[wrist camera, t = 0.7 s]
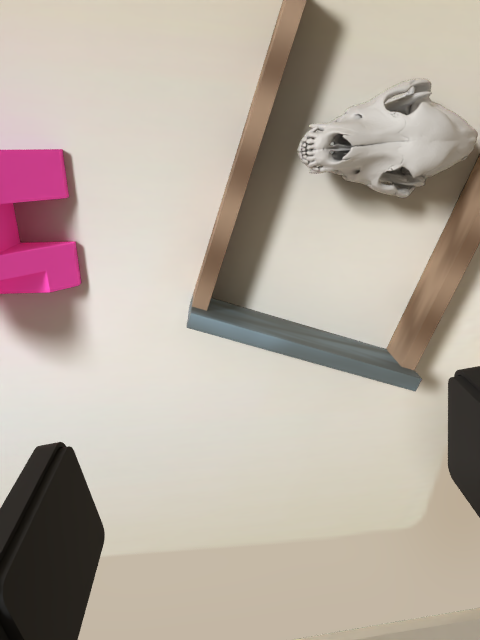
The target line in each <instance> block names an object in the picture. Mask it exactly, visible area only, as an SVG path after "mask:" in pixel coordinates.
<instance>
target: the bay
mask: <svg viewBox="0 0 480 640" xmlns="http://www.w3.org/2000/svg"><path fill="white" fill-rule="evenodd" d="M306 1H307V0H283V2H282V6H281V9H280V12H279V16H278V19H277V22H276V25H275V29H274V32H273V35H272V38H271V42H270V45H269V48H268V51H267V55H266V58H265V61H264V64H263V68H262V71H261V74H260V78H259V81H258V84H257V87H256V91H255V94H254V97H253V100H252V104H251V107H250V110H249V113H248V117H247V120H246V123H245V127H244V130H243V133H242V136H241V140H240V143H239V146H238V149H237V153H236V156H235V159H234V162H233V166H232V169H231V172H230V175H229V179H228V182H227V185H226V189H225V192H224V195H223V198H222V202H221V205H220V208H219V211H218V215H217V218H216V221H215V224H214V228H213V231H212V234H211V238H210V241H209V244H208V247H207V251H206V254H205V257H204V260H203V264H202V267H201V270H200V273H199V277H198V280H197V283H196V286H195V290H194V293H193V296H192V300H191V303H190V307H189V314H188V321H187V328H190V329H194V330H197V331H201V332H204V333H208V334H212V335H215V336H219V337H222V338H226V339H230V340H233V341H237V342H240V343H244V344H247V345H251V346H255V347H258V348H262V349H265V350H269V351H273V352H276V353H280V354H283V355H287V356H290V357H294V358H298V359H301V360H305V361H308V362H312V363H316V364H319V365H323V366H326V367H330V368H333V369H337V370H341V371H344V372H348V373H351V374H355V375H359V376H362V377H366V378H369V379H373V380H376V381H380V382H384V383H387V384H391V385H394V386H398V387H402V388H405V389H409V390H412V391H416V390H417V388H418V386H419V384H420V382H421V380H422V378H421V377H420V376H419V375H418V374H417V373H416V372H415V371H414V370H415V368H416V366H417V364H418V362H419V360H420V358H421V356H422V354H423V352H424V350H425V348H426V346H427V344H428V343H429V341H430V339H431V337H432V335H433V333H434V331H435V329H436V327H437V325H438V323H439V321H440V319H441V317H442V315H443V313H444V311H445V309H446V307H447V305H448V303H449V302H450V300H451V298H452V296H453V294H454V292H455V290H456V288H457V286H458V284H459V282H460V280H461V278H462V276H463V274H464V272H465V270H466V268H467V266H468V264H469V263H470V261H471V259H472V257H473V255H474V253H475V251H476V249H477V247H478V245H479V243H480V155H479V157H478V159H477V161H476V164H475V166H474V168H473V170H472V172H471V174H470V176H469V178H468V180H467V182H466V184H465V186H464V189H463V191H462V193H461V195H460V197H459V199H458V201H457V203H456V205H455V207H454V209H453V211H452V214H451V216H450V218H449V220H448V222H447V224H446V226H445V228H444V230H443V232H442V234H441V236H440V239H439V241H438V243H437V245H436V247H435V249H434V251H433V253H432V255H431V257H430V259H429V261H428V264H427V266H426V268H425V270H424V272H423V274H422V276H421V278H420V280H419V282H418V284H417V286H416V288H415V291H414V293H413V295H412V297H411V299H410V301H409V303H408V305H407V307H406V309H405V311H404V313H403V316H402V318H401V320H400V322H399V324H398V326H397V328H396V330H395V332H394V334H393V336H392V338H391V341H390V343H389V345H388V347H387V349H384V348H380V347H377V346H373V345H370V344H366V343H363V342H360V341H356V340H353V339H349V338H346V337H343V336H339V335H336V334H332V333H329V332H326V331H322V330H319V329H315V328H312V327H308V326H305V325H302V324H298V323H295V322H291V321H288V320H285V319H281V318H278V317H274V316H271V315H268V314H264V313H261V312H257V311H254V310H250V309H247V308H244V307H240V306H237V305H233V304H230V303H227V302H223V301H220V300H216V299H213V298H211V296H212V293H213V290H214V287H215V284H216V281H217V277H218V274H219V271H220V268H221V265H222V262H223V259H224V256H225V253H226V249H227V246H228V243H229V240H230V237H231V234H232V231H233V228H234V225H235V221H236V218H237V215H238V212H239V209H240V206H241V203H242V200H243V197H244V193H245V190H246V187H247V184H248V181H249V178H250V175H251V172H252V169H253V165H254V162H255V159H256V156H257V153H258V150H259V147H260V144H261V141H262V137H263V134H264V131H265V128H266V125H267V122H268V119H269V116H270V113H271V109H272V106H273V103H274V100H275V97H276V94H277V91H278V88H279V85H280V81H281V78H282V75H283V72H284V69H285V66H286V63H287V60H288V57H289V53H290V50H291V47H292V44H293V41H294V38H295V35H296V32H297V29H298V25H299V22H300V19H301V16H302V13H303V10H304V7H305V4H306Z"/></svg>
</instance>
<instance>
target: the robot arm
mask: <svg viewBox="0 0 480 640" xmlns="http://www.w3.org/2000/svg"><path fill="white" fill-rule="evenodd" d="M448 468H449V472H450V475H451V477H452V479H453V480H454V482H455V484H456V485H457V486H458V488H459V489H460V491H461V492H462V493H463V495H464V496H465V498H466V499H467V501H468V502H469V503H470V505H471V506H472V508H473V509H474V510H475V512H476V513H477V515H478V516H479V517H480V366H478V367H472V368H467V369H461V370H457V371H456V372H455V375H454V377H451V378H450V379H449V382H448ZM103 544H104V528H103V524H102V522H101V519H100V517H99V514H98V512H97V509H96V506H95V504H94V501H93V499H92V496H91V494H90V491H89V488H88V486H87V483H86V481H85V478H84V475H83V473H82V470H81V468H80V465H79V463H78V460H77V457H76V455H75V452H74V450H73V448H72V447H66V446H65V444H64V443H62V442H58V443H53V444H47V445H42V446H38V447H36V449H35V450H34V451H33V453H32V455H31V457H30V458H29V460H28V462H27V464H26V465H25V467H24V469H23V470H22V472H21V474H20V476H19V477H18V479H17V481H16V483H15V484H14V486H13V488H12V489H11V491H10V493H9V495H8V496H7V498H6V500H5V501H4V503H3V505H2V507H1V508H0V640H77V639H78V636H79V632H80V628H81V624H82V621H83V617H84V614H85V610H86V606H87V603H88V599H89V595H90V592H91V588H92V584H93V581H94V577H95V573H96V570H97V566H98V562H99V559H100V555H101V551H102V548H103ZM294 640H480V608H476V609H469V610H463V611H458V612H452V613H446V614H440V615H434V616H428V617H422V618H416V619H410V620H404V621H398V622H393V623H386V624H380V625H375V626H369V627H363V628H357V629H352V630H345V631H340V632H334V633H329V634H323V635H317V636H311V637H306V638H300V639H294Z"/></svg>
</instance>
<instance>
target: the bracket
mask: <svg viewBox="0 0 480 640" xmlns="http://www.w3.org/2000/svg"><path fill="white" fill-rule="evenodd" d="M68 197H69V193H68V186H67V179H66V172H65V165H64V158H63V151H62V149H52V150H0V294H9V293H46V292H54V291H58V290H62V289H66V288H70V287H75V286H79V285H80V284H81V277H80V270H79V263H78V256H77V249H76V242H29V243H20V238H19V232H18V227H17V222H16V216H15V211H14V206H13V203H17V202H28V201H39V200H50V199H62V198H68Z"/></svg>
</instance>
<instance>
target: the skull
mask: <svg viewBox="0 0 480 640" xmlns="http://www.w3.org/2000/svg"><path fill="white" fill-rule="evenodd" d="M408 90H409V91H408ZM407 91H408V92H407ZM405 92H407V93H405ZM402 93H405V94H404V95H402V96H400V97H398V98H391V97H393V96H395V95H398V94H402ZM430 94H432V93H431V82H430V81H429V80H427V79H422V78H421V79H412V80H407V81H404V82H401V83H399V84H397V85H395V86H393V87H391V88H389V89H387V90H385V91H383V92H382V93H380V94H379V95H377V96H376V97H375V98H373V99H371V100H370V101H367V102H365V103H362V104H358V105H356V106H352V107H349V108H347V109H346V111H345V114H343V115H341V116H339V117H337V118H336V119H334V120H333V121H331V122H329V123H319V124H311V125H309V127H310V128H312V129H311V130H309V131H308V132H307V133H306V134H305V135H304V137H303V138H302V140H301V141H300V144H299V147H298V149H297V151H299V152H298V155H299V157H300V159H301V161H302V162H303V163H304V164H305V165H306V166H307V167H309V168H311V169H312V170H310V171H309V173H316V174H317V173H324V172H333V173H335V174H338V175H342V177H343V178H344V179H345V180H346V181H352V182H357V183H362V184H365V185H367V186H368V187H370V188H371V189H373V190H375V191H377V192H380V193H384V194H387V195H394V196H397V197H400V198H405V197H408V196H409V195H410V194H411V192H412V191H413V190H414V189H415V186H423V185H424V184H425V183H424V182H425V180H426V178H428V177H431V176H433V175H435V174H437V173H439V172H441V171H443V170H445V169H448V168H449V167H451V166H453V165H454V164H456V163H458V162H460V161H461V160H462V161H463V160H465V159H466V158H467V157H468V155H469V154H470V153H471V152H472V150H473V149H474V144H475V142H476V140H477V136H478V133H477V131H476V130H475V129H473V128H472V127H471V126H470V125H469V124H468V123H467V122H466V121H465V120H464V119H463V118H461V117H460V116H459V115H457V114H456V113H454V112H453V111H450V110H448V109H445V108H444V107H443V106H442V105H440V104H436V103H434V102H432V101H431V100H430V98H429V96H430ZM392 111H400V112H401V113H400V112H392ZM317 130H318V131H317ZM316 131H317V132H316ZM332 142H334V145H330V143H332ZM313 149H314V150H313ZM308 150H313V151H308ZM301 151H302V152H301ZM330 151H334V153H333V154H331V153H330ZM317 166H319V167H317ZM391 168H392V169H391ZM382 182H383V183H384V182H389V183H390V185H385V184H383V183H382Z"/></svg>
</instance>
